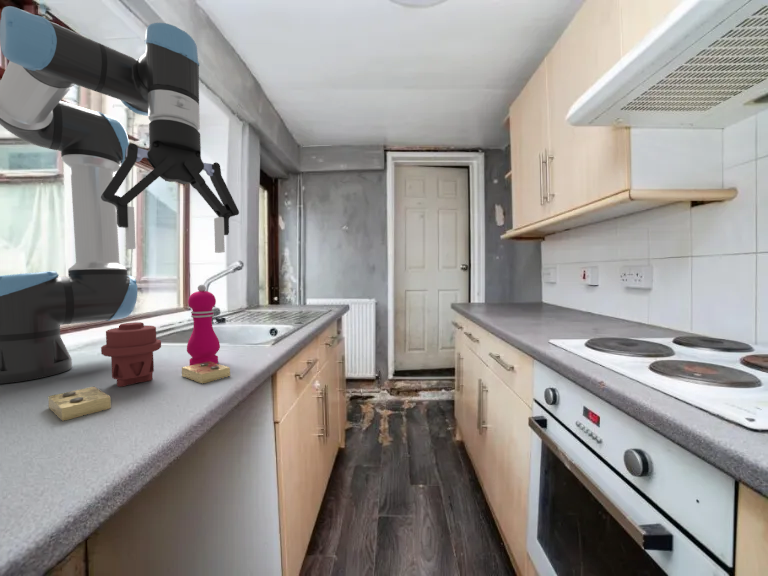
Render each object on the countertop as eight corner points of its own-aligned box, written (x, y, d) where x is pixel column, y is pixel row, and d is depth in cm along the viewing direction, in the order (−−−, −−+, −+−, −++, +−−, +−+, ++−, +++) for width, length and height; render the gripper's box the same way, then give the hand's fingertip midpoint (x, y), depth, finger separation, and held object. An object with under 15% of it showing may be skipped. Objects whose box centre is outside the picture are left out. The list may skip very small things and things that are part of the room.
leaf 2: (182, 376, 73) (181, 366, 73) (209, 369, 78) (209, 360, 78) (202, 383, 68) (201, 372, 68) (230, 376, 73) (229, 366, 73)
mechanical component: (173, 375, 74) (131, 391, 64) (136, 373, 76) (89, 388, 66) (171, 320, 73) (128, 328, 63) (134, 319, 75) (86, 326, 65)
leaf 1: (48, 407, 56) (48, 394, 56) (94, 397, 61) (93, 384, 61) (62, 421, 51) (61, 406, 51) (110, 408, 56) (110, 394, 56)
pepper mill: (215, 359, 88) (213, 284, 87) (224, 364, 82) (221, 284, 82) (184, 364, 83) (181, 284, 82) (191, 370, 78) (188, 285, 77)
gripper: (79, 90, 45) (85, 245, 46) (255, 141, 63) (257, 252, 64) (74, 108, 51) (80, 248, 52) (238, 151, 69) (241, 254, 70)
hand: (179, 251), depth 58 cm, fingers open, 13 cm apart
